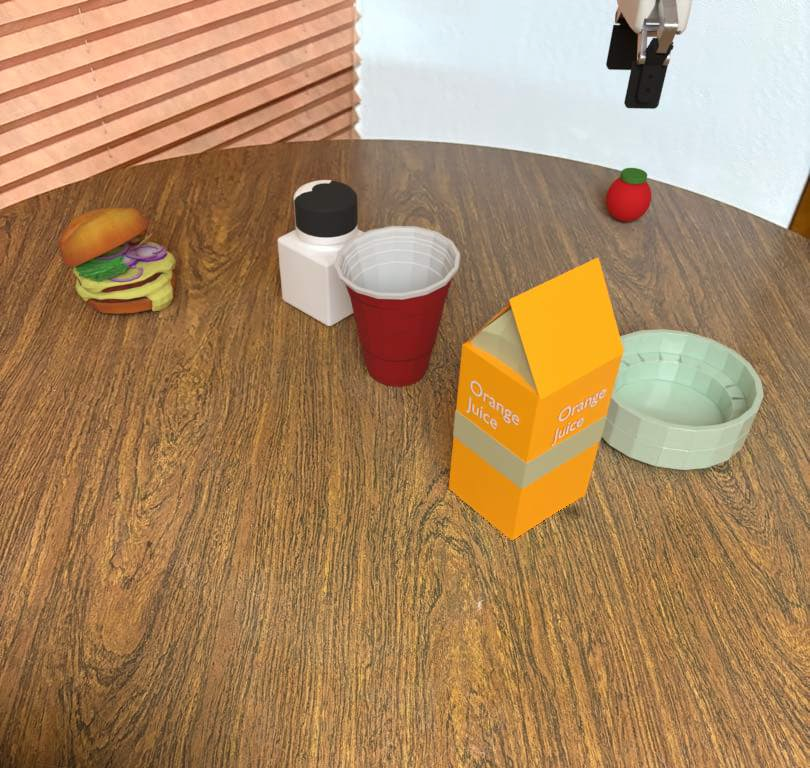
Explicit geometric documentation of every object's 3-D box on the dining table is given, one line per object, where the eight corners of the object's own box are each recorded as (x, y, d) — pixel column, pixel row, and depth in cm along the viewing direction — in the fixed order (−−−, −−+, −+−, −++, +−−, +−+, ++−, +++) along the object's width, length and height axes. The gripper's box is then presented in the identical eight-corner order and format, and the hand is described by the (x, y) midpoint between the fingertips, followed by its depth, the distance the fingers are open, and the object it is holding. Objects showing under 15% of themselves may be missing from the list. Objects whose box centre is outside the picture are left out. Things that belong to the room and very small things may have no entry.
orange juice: (446, 489, 71) (466, 274, 57) (521, 445, 75) (558, 233, 60) (512, 544, 68) (553, 328, 53) (588, 495, 71) (645, 281, 57)
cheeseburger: (136, 335, 84) (93, 237, 78) (67, 323, 90) (21, 231, 83) (203, 287, 90) (168, 192, 84) (135, 279, 96) (97, 189, 89)
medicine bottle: (377, 300, 90) (378, 189, 81) (329, 328, 86) (324, 215, 77) (329, 275, 93) (325, 165, 84) (281, 301, 89) (271, 189, 80)
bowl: (645, 354, 85) (658, 311, 81) (773, 424, 78) (793, 380, 75) (554, 417, 78) (563, 372, 74) (686, 499, 72) (704, 454, 68)
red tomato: (619, 204, 106) (629, 159, 102) (654, 220, 103) (666, 174, 99) (593, 218, 103) (602, 172, 99) (628, 234, 101) (639, 188, 97)
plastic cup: (320, 352, 84) (313, 238, 75) (418, 325, 87) (423, 213, 78) (368, 418, 77) (367, 301, 68) (471, 386, 81) (484, 271, 72)
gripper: (748, -101, 67) (688, 124, 80) (693, -147, 79) (649, 56, 91) (653, -103, 67) (608, 123, 80) (612, -149, 78) (579, 54, 91)
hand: (630, 87), depth 86 cm, fingers open, 9 cm apart
